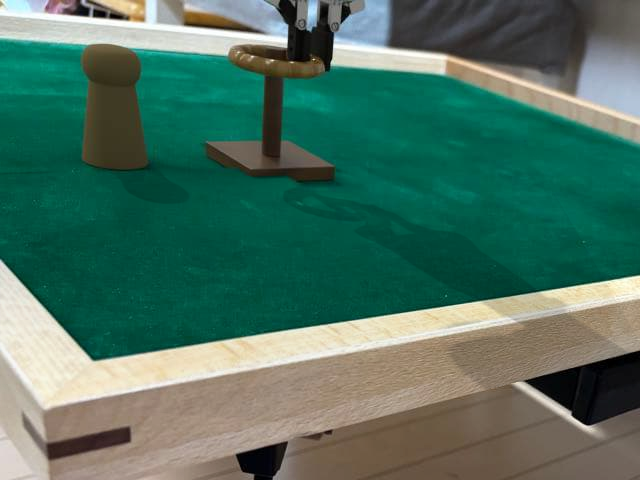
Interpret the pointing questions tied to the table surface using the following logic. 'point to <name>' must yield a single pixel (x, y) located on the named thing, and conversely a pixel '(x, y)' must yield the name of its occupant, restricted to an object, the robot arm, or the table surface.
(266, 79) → the post
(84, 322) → the table surface
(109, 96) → the cork
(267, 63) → the ring
